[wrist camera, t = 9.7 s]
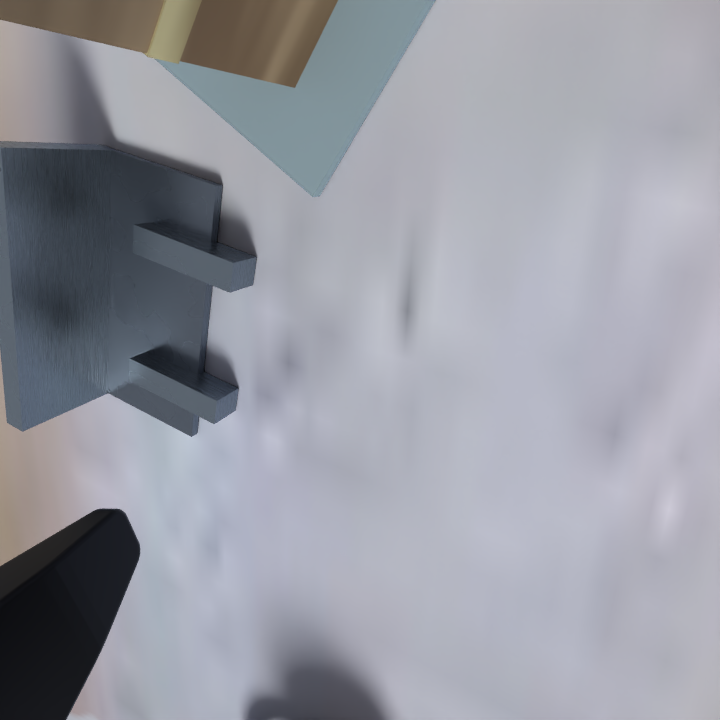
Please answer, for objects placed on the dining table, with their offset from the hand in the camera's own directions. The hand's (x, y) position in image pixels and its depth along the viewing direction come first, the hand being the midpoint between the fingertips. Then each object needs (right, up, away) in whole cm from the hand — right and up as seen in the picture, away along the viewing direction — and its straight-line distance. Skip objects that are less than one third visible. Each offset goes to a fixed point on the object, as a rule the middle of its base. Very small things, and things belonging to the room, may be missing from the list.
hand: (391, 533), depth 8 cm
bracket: (-9, +5, +16) cm, 19 cm away
